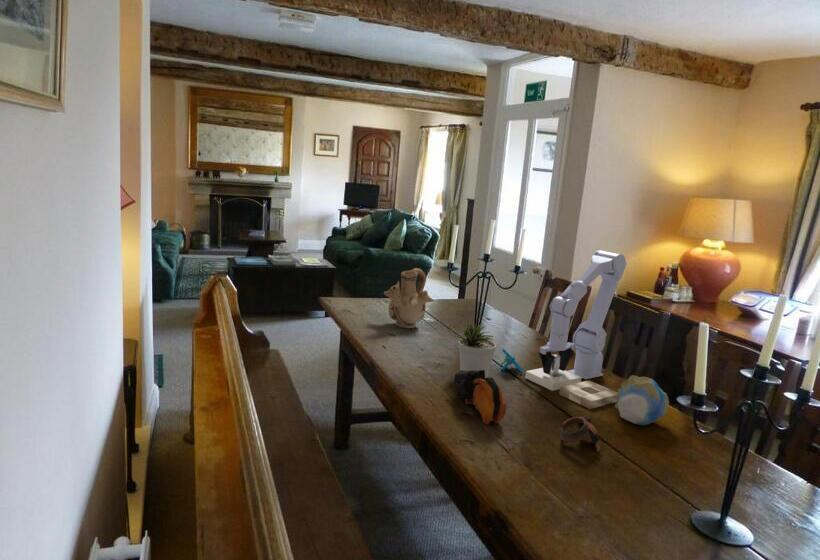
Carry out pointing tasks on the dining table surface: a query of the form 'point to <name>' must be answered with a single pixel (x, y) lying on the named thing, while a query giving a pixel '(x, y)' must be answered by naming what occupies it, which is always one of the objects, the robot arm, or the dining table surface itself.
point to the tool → (481, 394)
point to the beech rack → (588, 394)
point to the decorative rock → (641, 400)
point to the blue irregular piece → (509, 361)
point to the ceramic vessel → (408, 299)
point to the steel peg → (555, 366)
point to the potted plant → (475, 349)
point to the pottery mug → (580, 431)
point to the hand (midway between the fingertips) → (554, 371)
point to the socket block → (552, 378)
